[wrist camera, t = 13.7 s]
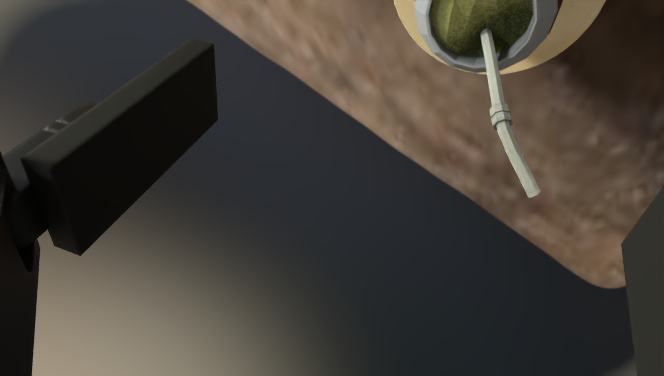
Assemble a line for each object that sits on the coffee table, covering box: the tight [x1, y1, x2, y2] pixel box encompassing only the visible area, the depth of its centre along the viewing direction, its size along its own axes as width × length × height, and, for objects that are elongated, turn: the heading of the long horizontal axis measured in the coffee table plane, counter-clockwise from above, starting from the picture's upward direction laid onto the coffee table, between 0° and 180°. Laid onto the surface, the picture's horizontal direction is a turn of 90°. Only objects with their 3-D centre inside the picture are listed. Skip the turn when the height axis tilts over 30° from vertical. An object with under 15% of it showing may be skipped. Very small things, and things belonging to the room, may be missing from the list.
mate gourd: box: [414, 0, 563, 198], centre depth 24 cm, size 8×8×15 cm
